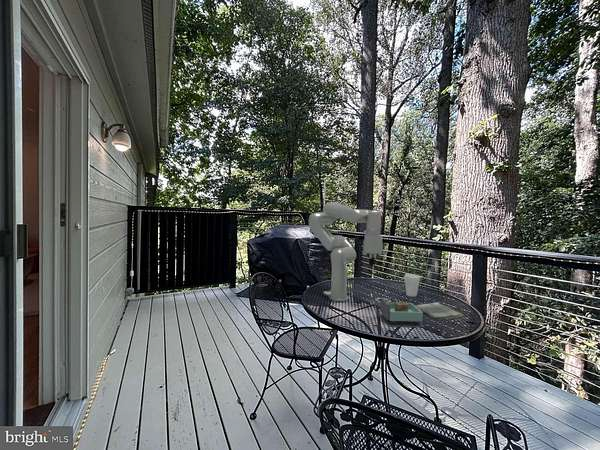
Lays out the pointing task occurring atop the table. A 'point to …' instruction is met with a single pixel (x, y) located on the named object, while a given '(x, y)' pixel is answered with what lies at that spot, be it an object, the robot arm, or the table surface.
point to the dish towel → (439, 311)
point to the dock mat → (401, 323)
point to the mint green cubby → (400, 313)
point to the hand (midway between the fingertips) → (371, 265)
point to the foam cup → (412, 284)
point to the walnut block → (401, 307)
